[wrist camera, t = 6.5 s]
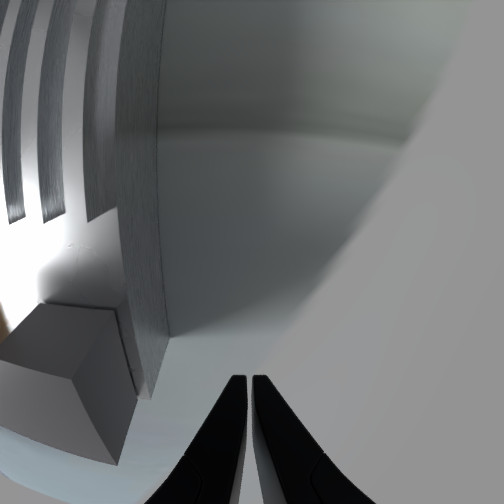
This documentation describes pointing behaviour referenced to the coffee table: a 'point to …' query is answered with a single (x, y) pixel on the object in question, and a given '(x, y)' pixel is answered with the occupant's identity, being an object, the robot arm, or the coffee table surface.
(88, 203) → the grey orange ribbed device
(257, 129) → the coffee table surface
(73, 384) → the block
